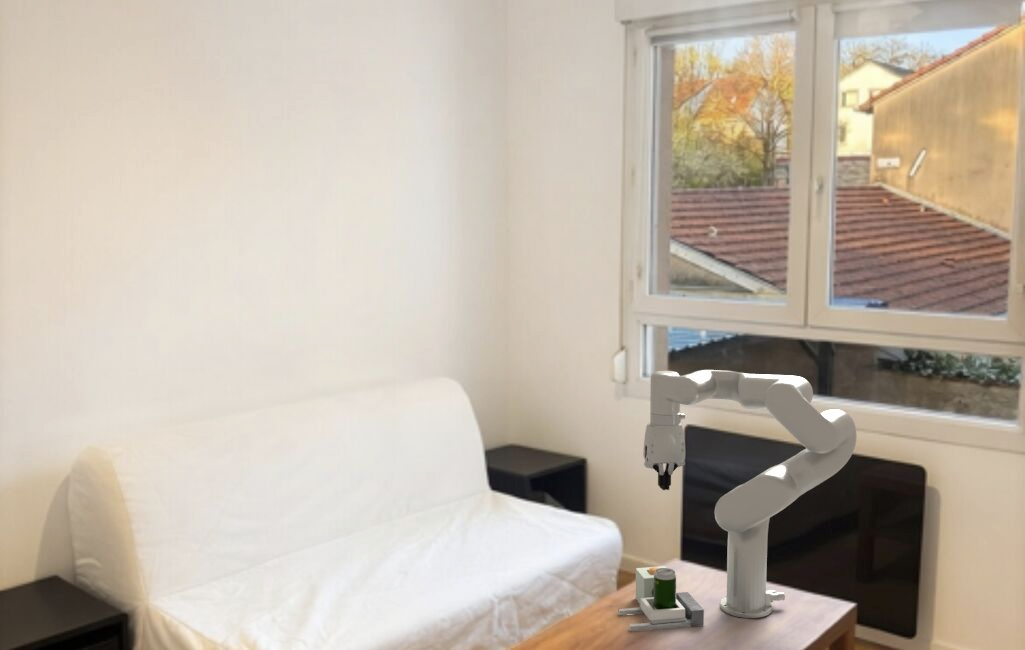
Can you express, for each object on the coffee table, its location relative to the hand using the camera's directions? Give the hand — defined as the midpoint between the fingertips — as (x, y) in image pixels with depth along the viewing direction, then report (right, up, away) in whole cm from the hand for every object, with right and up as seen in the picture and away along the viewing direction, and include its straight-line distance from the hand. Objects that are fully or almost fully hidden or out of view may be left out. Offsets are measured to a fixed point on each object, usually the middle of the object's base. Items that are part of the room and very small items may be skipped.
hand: (664, 488), depth 252 cm
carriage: (-3, -28, -16) cm, 32 cm away
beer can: (-2, -29, -15) cm, 33 cm away
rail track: (-3, -29, -15) cm, 33 cm away
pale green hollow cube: (-3, -28, -5) cm, 29 cm away
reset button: (-3, -22, -6) cm, 23 cm away
